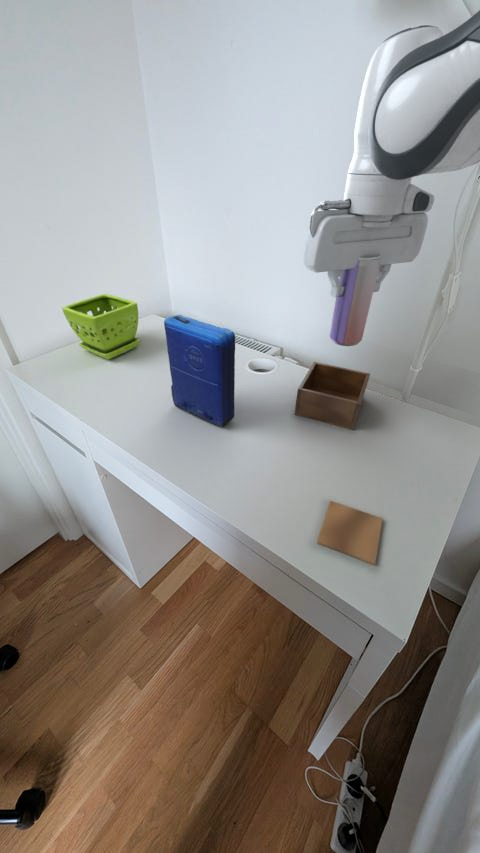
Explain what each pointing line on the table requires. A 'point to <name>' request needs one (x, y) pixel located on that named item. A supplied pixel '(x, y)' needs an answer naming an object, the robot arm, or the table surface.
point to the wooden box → (331, 395)
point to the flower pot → (104, 324)
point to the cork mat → (351, 532)
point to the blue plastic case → (201, 368)
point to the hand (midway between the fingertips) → (354, 293)
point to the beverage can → (354, 302)
